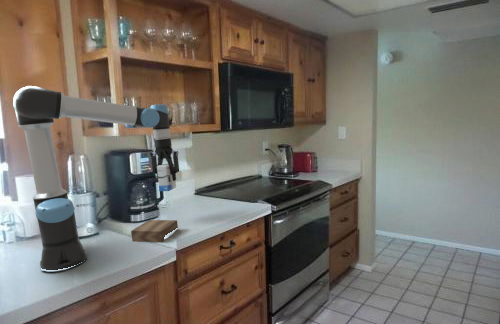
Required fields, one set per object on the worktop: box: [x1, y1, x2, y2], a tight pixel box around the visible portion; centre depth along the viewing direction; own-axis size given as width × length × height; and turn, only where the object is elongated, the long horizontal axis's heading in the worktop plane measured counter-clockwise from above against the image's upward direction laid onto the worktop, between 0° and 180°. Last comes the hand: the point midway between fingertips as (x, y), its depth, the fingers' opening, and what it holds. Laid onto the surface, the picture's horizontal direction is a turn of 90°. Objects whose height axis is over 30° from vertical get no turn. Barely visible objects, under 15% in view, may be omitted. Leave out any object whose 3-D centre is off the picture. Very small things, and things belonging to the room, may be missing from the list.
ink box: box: [157, 163, 177, 192], centre depth 158 cm, size 8×5×12 cm, turn 168°
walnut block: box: [130, 219, 179, 243], centre depth 146 cm, size 14×14×5 cm
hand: (167, 187), depth 159 cm, fingers closed on ink box, 5 cm apart
